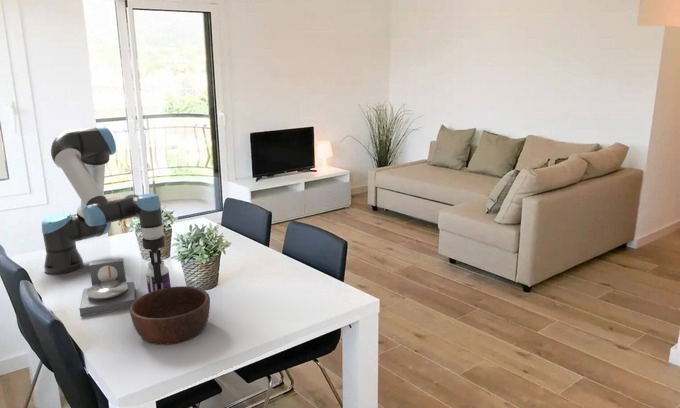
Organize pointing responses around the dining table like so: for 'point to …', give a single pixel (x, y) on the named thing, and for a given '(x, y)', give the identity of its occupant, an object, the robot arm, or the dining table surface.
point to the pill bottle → (151, 278)
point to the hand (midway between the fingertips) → (160, 293)
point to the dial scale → (103, 273)
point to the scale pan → (107, 289)
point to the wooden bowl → (170, 314)
